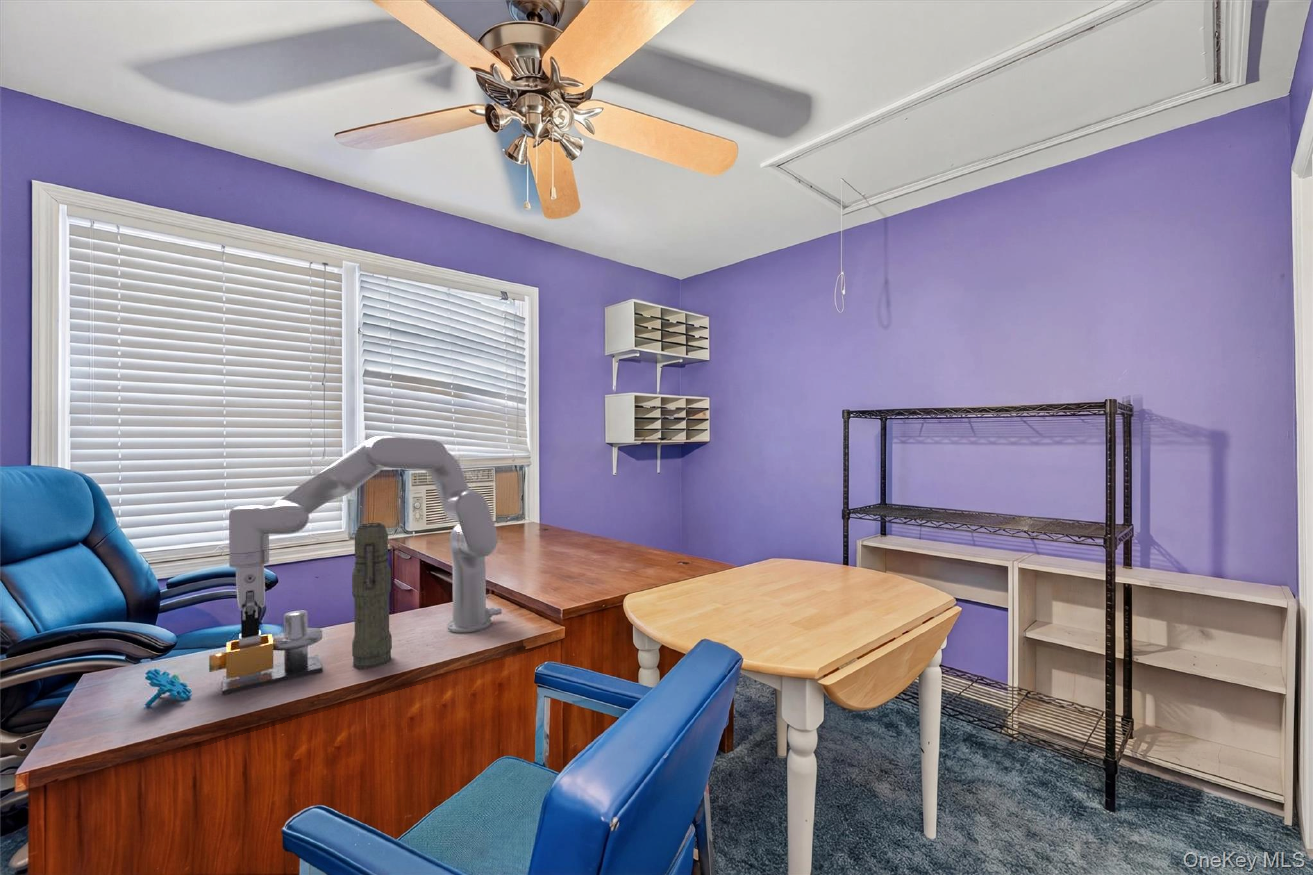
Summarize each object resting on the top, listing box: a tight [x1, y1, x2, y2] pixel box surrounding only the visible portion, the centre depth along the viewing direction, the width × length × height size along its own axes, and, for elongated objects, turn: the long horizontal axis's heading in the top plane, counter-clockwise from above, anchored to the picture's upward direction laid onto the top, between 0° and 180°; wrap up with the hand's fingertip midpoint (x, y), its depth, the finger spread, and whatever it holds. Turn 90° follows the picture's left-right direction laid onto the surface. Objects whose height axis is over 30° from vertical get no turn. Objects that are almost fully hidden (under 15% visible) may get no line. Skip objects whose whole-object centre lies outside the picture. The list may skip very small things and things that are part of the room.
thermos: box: [351, 522, 393, 669], centre depth 135 cm, size 9×12×35 cm
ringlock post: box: [208, 609, 324, 696], centre depth 127 cm, size 22×11×14 cm, turn 128°
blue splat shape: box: [144, 668, 193, 708], centre depth 115 cm, size 11×6×10 cm
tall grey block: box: [238, 629, 262, 682], centre depth 125 cm, size 4×4×10 cm
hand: (249, 630), depth 125 cm, fingers open, 9 cm apart
